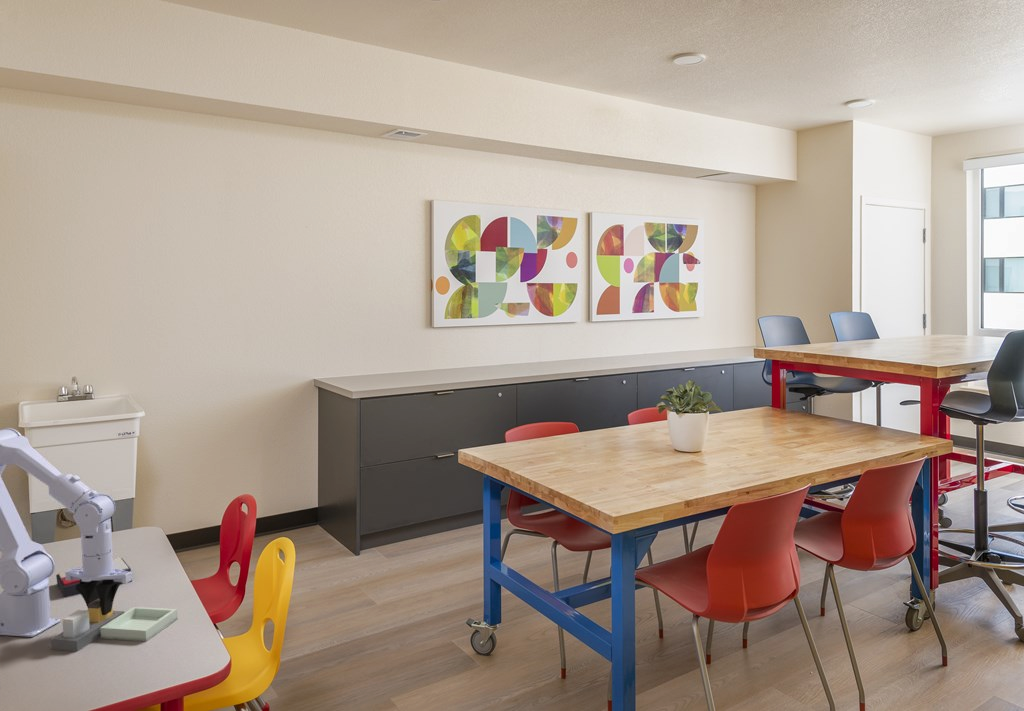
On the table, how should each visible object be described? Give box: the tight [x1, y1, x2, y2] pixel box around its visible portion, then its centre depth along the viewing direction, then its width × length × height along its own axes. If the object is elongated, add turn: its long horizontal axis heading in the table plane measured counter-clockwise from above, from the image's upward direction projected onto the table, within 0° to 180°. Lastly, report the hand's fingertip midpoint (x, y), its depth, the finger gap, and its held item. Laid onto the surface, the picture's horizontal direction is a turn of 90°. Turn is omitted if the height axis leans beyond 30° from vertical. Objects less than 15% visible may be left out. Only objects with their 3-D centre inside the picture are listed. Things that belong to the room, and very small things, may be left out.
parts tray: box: [100, 606, 178, 642], centre depth 154 cm, size 11×11×2 cm
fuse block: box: [50, 610, 125, 652], centre depth 151 cm, size 6×14×2 cm, turn 171°
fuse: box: [61, 609, 90, 638], centre depth 148 cm, size 2×4×6 cm, turn 171°
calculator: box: [55, 557, 133, 598], centre depth 180 cm, size 11×4×15 cm
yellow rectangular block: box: [87, 598, 114, 623], centre depth 155 cm, size 2×4×6 cm, turn 172°
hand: (100, 612), depth 155 cm, fingers closed on yellow rectangular block, 2 cm apart
